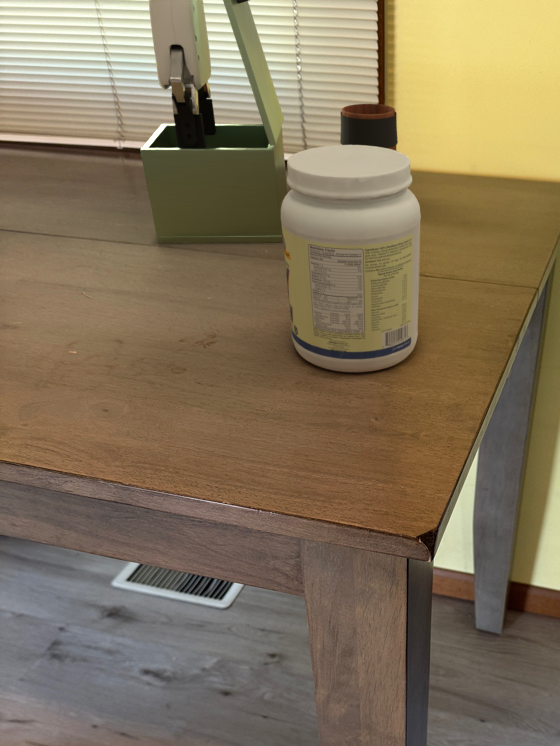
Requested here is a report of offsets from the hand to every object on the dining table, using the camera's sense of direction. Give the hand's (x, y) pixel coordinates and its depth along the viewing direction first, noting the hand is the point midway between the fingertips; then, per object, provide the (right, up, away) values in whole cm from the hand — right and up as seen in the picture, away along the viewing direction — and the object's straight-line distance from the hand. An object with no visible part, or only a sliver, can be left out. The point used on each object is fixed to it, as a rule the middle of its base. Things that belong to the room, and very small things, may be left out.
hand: (198, 141), depth 94 cm
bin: (+2, -8, +7) cm, 10 cm away
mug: (+20, +1, +18) cm, 27 cm away
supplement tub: (+21, -31, -21) cm, 43 cm away
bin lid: (+8, +7, -5) cm, 12 cm away
